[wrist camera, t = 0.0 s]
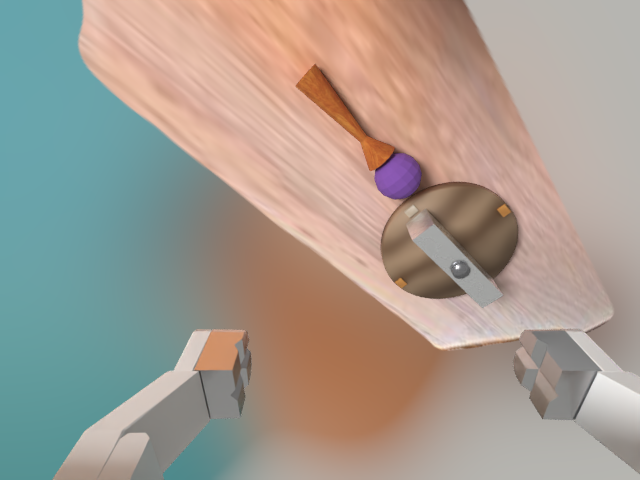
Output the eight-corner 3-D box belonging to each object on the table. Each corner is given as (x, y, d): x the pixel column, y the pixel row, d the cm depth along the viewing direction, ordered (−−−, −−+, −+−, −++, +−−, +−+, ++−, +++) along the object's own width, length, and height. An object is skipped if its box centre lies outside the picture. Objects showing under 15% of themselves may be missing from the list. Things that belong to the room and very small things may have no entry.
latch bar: (405, 224, 49) (413, 242, 45) (425, 208, 48) (435, 226, 44) (471, 289, 55) (483, 310, 51) (491, 276, 54) (505, 298, 50)
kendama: (325, 51, 37) (437, 180, 43) (321, 58, 43) (421, 172, 49) (287, 93, 38) (401, 213, 44) (288, 95, 44) (389, 201, 50)
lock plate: (354, 242, 54) (355, 251, 52) (463, 153, 47) (470, 159, 44) (430, 308, 62) (434, 319, 59) (536, 241, 54) (545, 250, 52)
